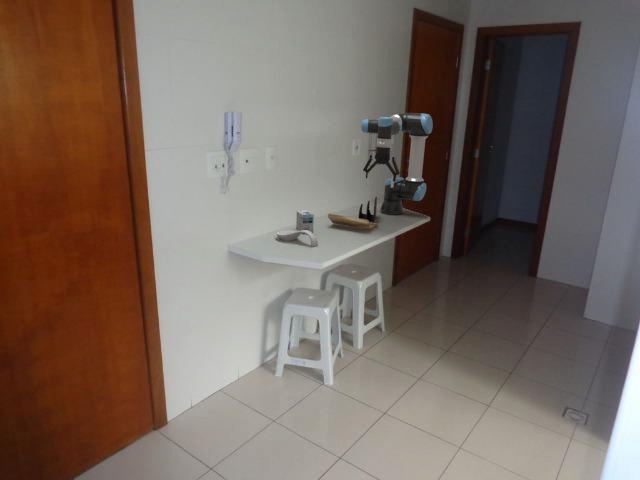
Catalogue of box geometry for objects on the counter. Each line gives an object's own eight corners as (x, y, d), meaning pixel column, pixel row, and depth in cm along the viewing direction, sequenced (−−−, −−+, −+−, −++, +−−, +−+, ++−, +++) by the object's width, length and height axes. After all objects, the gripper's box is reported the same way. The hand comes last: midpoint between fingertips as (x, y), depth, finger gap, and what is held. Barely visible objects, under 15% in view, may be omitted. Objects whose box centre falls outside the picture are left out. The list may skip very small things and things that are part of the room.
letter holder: (375, 216, 300) (377, 195, 296) (374, 224, 281) (376, 201, 277) (360, 215, 301) (362, 193, 297) (357, 222, 283) (359, 199, 279)
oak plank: (333, 223, 275) (334, 220, 275) (371, 230, 265) (372, 226, 265) (327, 216, 266) (328, 213, 267) (367, 223, 256) (368, 219, 257)
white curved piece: (271, 239, 240) (271, 226, 238) (286, 235, 250) (286, 222, 248) (308, 249, 227) (309, 235, 225) (322, 244, 237) (323, 230, 235)
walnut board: (340, 220, 285) (340, 217, 284) (377, 226, 275) (378, 223, 274) (334, 223, 277) (334, 220, 276) (372, 230, 267) (372, 226, 266)
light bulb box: (313, 233, 255) (314, 214, 252) (301, 234, 252) (302, 214, 249) (306, 228, 264) (307, 209, 261) (295, 228, 262) (296, 210, 259)
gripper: (359, 145, 253) (356, 184, 259) (404, 149, 243) (400, 189, 249) (363, 144, 259) (360, 182, 265) (407, 148, 250) (403, 187, 256)
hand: (379, 185), depth 257 cm, fingers open, 13 cm apart
